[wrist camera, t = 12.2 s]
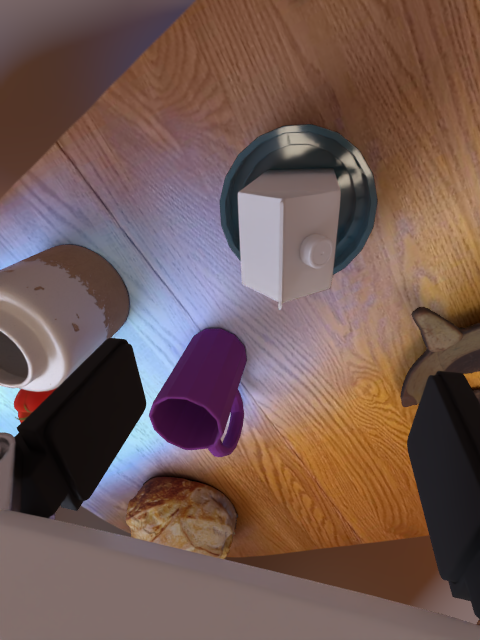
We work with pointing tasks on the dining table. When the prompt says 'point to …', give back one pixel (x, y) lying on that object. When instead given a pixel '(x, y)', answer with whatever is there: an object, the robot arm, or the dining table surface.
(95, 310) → the vase
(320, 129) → the shallow pet bowl
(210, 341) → the mug
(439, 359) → the broken pan
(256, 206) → the milk carton
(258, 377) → the dining table surface
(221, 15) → the dining table surface
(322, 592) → the robot arm
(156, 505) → the bread
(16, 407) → the tomato
